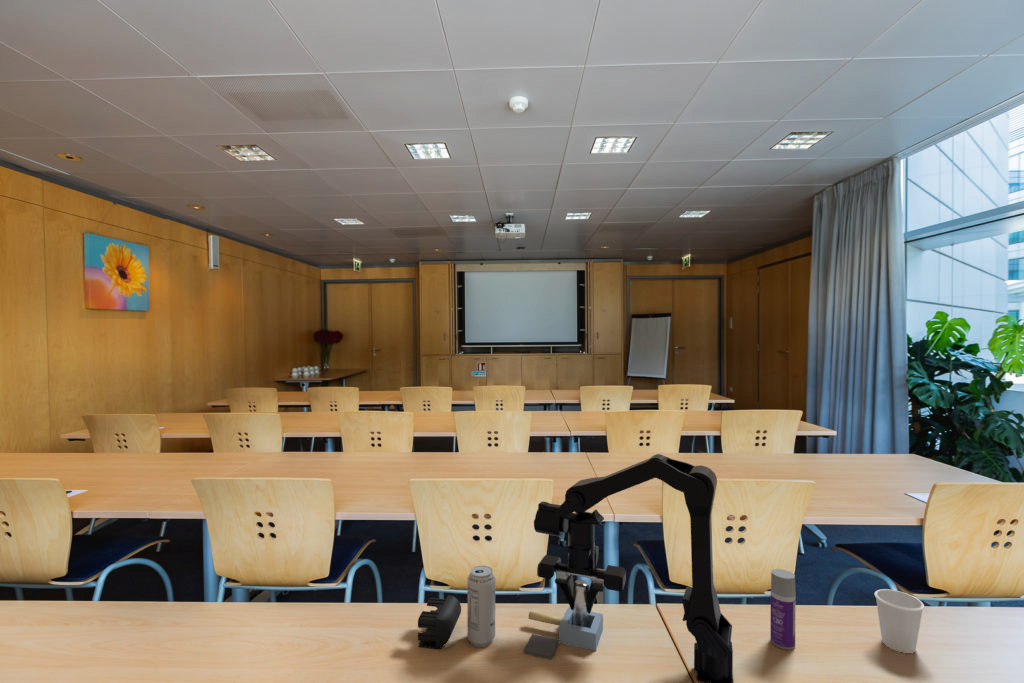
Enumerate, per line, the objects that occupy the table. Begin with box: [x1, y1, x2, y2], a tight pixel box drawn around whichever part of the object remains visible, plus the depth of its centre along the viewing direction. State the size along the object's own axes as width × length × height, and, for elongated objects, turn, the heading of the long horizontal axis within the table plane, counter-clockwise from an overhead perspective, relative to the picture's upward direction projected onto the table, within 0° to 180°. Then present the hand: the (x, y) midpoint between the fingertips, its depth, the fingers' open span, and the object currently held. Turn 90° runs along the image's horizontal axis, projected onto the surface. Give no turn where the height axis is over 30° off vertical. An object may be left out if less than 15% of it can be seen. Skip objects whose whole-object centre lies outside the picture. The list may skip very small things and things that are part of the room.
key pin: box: [573, 579, 590, 628], centre depth 108 cm, size 3×3×9 cm
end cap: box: [417, 594, 462, 650], centre depth 108 cm, size 10×7×7 cm
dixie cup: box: [874, 588, 925, 654], centre depth 105 cm, size 8×8×10 cm
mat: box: [522, 633, 560, 660], centre depth 104 cm, size 6×6×1 cm
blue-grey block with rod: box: [528, 606, 604, 652], centre depth 110 cm, size 16×8×4 cm, turn 69°
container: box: [770, 568, 797, 651], centre depth 106 cm, size 5×5×15 cm
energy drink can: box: [466, 565, 496, 648], centre depth 107 cm, size 6×6×15 cm
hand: (581, 610), depth 108 cm, fingers closed on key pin, 3 cm apart
